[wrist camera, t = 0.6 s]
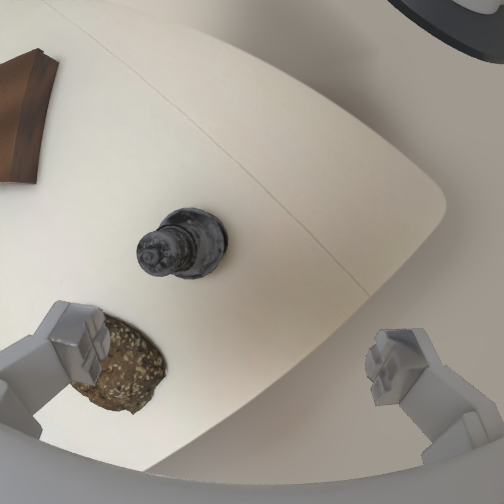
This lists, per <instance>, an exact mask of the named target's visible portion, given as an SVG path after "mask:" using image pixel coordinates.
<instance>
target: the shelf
mask: <svg viewBox="0 0 504 504" xmlns="http://www.w3.org/2000/svg"><path fill="white" fill-rule="evenodd" d="M43 52H44V51H42V50H41V49H39V48H37V49H35V50H32V51H30V52H27V53H25V54H22V55H20V56H18V57H16V58H13V59H11V60H9V61H7V62H5V63H2V64H0V183H16V184H36V177H37V168H38V159H39V152H40V145H41V139H42V133H43V127H44V122H45V116H46V112H47V107H48V102H49V98H50V94H51V89H52V86H53V82H54V78H55V74H56V71H57V67H58V64H59V62H57V61H56V60H54V59H52V58H51V57H49V56H47V55H45V54H44V53H43Z"/></svg>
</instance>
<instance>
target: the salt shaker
mask: <svg viewBox="0 0 504 504" xmlns="http://www.w3.org/2000/svg"><path fill="white" fill-rule="evenodd" d="M227 245H228V236H227V233H226V229H225V227H224V226H223V224H222V222H221V221H220V220H219V219H218V218H217V217H215V216H213V215H212V214H210V213H206V212H204V211H203V210H200V209H196V208H182V209H179V210H176V211H174V212H172V213H171V214H169V215H168V216H167V217H166V218H165V219H164V220H163V221H162V222H161V224H160V226H159V228H158V229H157V230H156V231H153V232H150V233H148V234H146V235H145V236H144V237H143V238H142V239H141V240H140V241H139V244H138V246H137V251H136V252H137V259H138V263H139V264H140V266H141V268H142V269H143V270H144V271H145V272H147V273H148V274H150V275H152V276H157V277H163V276H167V275H169V274H173V275H175V276H177V277H180V278H183V279H198V278H202V277H204V276H206V275H208V274H209V273H211V272H212V271H213V270H214V269H215V268H216V267H217V266H218V264H219V262H220V260H221V259H222V257H223V256H224V254H225V252H226V249H227Z"/></svg>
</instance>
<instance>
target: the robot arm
mask: <svg viewBox="0 0 504 504" xmlns="http://www.w3.org/2000/svg"><path fill="white" fill-rule="evenodd" d="M452 1H454V2H455V3H457V4H459V5H461V6H463V7H465V8H467V9H469V10H472V11H474V12H477V13H481V14H493V13H495V12H496V11H497V10H498V8H499V6H500V5H504V0H452ZM104 319H105V316H104V313H103V310H102V309H100V308H98V307H92V306H87V305H82V304H77V303H71V302H66V301H61V300H58V301H56V302H55V303H54V304H53V306H52V307H51V309H50V310H49V312H48V313H47V315H46V316H45V318H44V319H43V321H42V322H41V324H40V325H39V327H38V328H37V330H36V331H35V333H34V335H28V336H26V337H24V338H22V339H21V340H19V341H17V342H16V343H14V344H12V345H11V346H9V347H7V348H5V349H4V350H2V351H0V504H504V422H503V420H502V418H501V416H500V413H499V411H498V409H497V407H496V405H495V403H494V402H492V401H491V400H490V399H489V398H487V397H486V396H485V395H484V394H482V393H481V392H480V391H479V390H477V389H476V388H475V387H474V386H472V385H471V384H470V383H468V382H467V381H466V380H465V379H463V378H462V377H461V376H460V375H458V374H457V373H456V372H455V371H453V370H452V369H451V368H449V367H448V366H447V365H445V366H443V365H442V363H441V361H440V358H439V356H438V354H437V353H436V350H435V348H434V346H433V345H432V343H431V341H430V339H429V337H428V335H427V333H426V331H425V330H424V329H423V328H413V329H381V330H379V331H378V332H377V334H376V336H375V338H374V339H375V342H376V344H375V345H373V346H372V347H371V348H369V351H368V353H367V355H366V361H365V369H366V374H367V377H368V378H369V379H370V380H371V381H372V382H373V385H372V387H371V392H372V395H373V399H374V402H375V406H380V405H392V404H399V406H400V407H401V408H402V409H403V411H404V412H405V413H406V414H407V415H408V416H409V417H410V418H411V419H412V420H413V422H414V423H415V424H416V425H417V426H418V427H419V428H420V429H421V431H422V432H423V433H424V434H425V435H426V436H427V437H428V438H429V440H430V441H431V442H432V444H431V445H430V446H429V447H428V448H427V449H426V450H425V451H423V453H422V454H421V456H422V460H423V464H424V465H422V466H418V467H414V468H410V469H406V470H402V471H397V472H393V473H388V474H382V475H377V476H371V477H365V478H359V479H351V480H343V481H335V482H325V483H313V484H312V483H311V484H292V485H246V484H227V483H215V482H204V481H196V480H187V479H181V478H174V477H168V476H162V475H156V474H151V473H146V472H141V471H137V470H132V469H128V468H124V467H120V466H116V465H112V464H108V463H105V462H101V461H98V460H94V459H91V458H88V457H84V456H81V455H78V454H75V453H72V452H69V451H67V450H64V449H61V448H58V447H56V446H53V445H50V444H48V443H45V442H43V441H41V440H39V439H40V436H41V433H42V427H41V425H40V424H39V423H38V422H37V421H36V419H35V418H34V417H33V415H34V414H35V413H36V412H37V411H38V410H40V409H41V408H42V407H43V406H44V405H45V404H46V403H48V402H49V401H50V400H51V399H52V398H53V397H55V396H56V395H57V394H58V393H59V392H60V391H61V390H63V389H64V388H65V387H66V386H67V385H68V384H70V383H71V381H75V382H79V383H83V384H88V385H92V386H95V384H96V382H97V379H98V377H99V374H100V372H101V366H100V362H101V361H103V360H104V359H106V357H107V355H108V352H109V348H110V333H109V330H108V328H107V327H106V326H105V325H104V324H103V321H104Z"/></svg>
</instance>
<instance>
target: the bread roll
mask: <svg viewBox="0 0 504 504" xmlns="http://www.w3.org/2000/svg"><path fill="white" fill-rule="evenodd" d="M103 324H104V325H105V326H106V327H107V328H108V330H109V333H110V348H109V352H108V355H107V357H106V359H104V360H103V361H101V362H100V366H101V372H100V374H99V377H98V379H97V382H96V384H95V386H92V385H88V384H83V383H79V382H75V381H71V383H70V384H71V385H72V387H74V388H75V389H76V390H77V391H78V392H80V393H81V394H82V395H83V396H87V397H88V398H89V400H90V402H93V403H94V404H96V405H98V406H99V407H102V408H105V409H106V410H112V411H121V410H124V409H125V410H127V411H130V412H131V413H132V414H133V415H134V414H135V413H136V412H137V411H140V409H141V408H143V407H144V406H145V405H146V404H147V402H148V401H150V400H151V397H152V396H153V391H154V388H155V387H156V386H157V385H158V384H159V383H160V381H162V380H163V378H164V377H165V375H164V370H165V365H164V362H163V359H162V357H161V356H160V355H159V353H158V351H156V350H155V349H154V348H153V347H152V346H151V345H150V344H149V343H148V342H147V341H146V340H144V339H143V338H142V336H141V335H140V334H139V333H138V332H136V331H134V330H132V329H131V328H129V327H127V326H125V325H124V324H122V323H121V322H119V321H116V320H114V319H112V318H109V317H106V316H105V319H104V321H103Z"/></svg>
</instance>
